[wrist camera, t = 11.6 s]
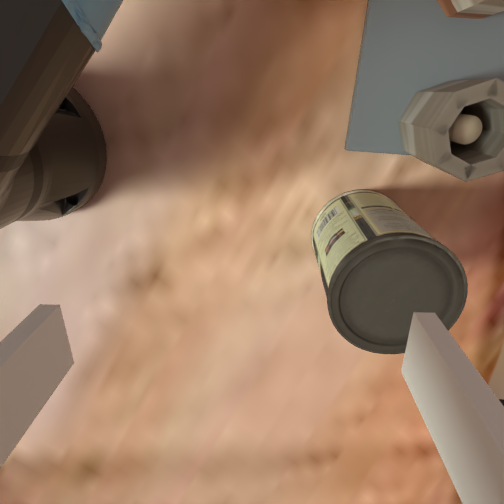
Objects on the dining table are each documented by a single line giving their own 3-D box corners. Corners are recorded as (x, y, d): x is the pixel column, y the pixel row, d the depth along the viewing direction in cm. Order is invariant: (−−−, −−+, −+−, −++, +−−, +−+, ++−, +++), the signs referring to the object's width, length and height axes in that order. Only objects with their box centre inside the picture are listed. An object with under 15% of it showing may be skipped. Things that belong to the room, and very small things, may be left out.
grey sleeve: (406, 170, 37) (439, 189, 29) (393, 99, 34) (426, 101, 27) (479, 147, 36) (532, 162, 28) (471, 73, 33) (527, 67, 26)
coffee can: (393, 281, 43) (443, 362, 30) (304, 270, 43) (317, 347, 30) (418, 194, 39) (489, 245, 26) (320, 182, 39) (342, 227, 26)
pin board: (344, 148, 37) (359, 160, 31) (380, -78, 30) (410, -125, 24) (505, 160, 37) (555, 175, 30) (580, -66, 30) (667, -111, 23)
